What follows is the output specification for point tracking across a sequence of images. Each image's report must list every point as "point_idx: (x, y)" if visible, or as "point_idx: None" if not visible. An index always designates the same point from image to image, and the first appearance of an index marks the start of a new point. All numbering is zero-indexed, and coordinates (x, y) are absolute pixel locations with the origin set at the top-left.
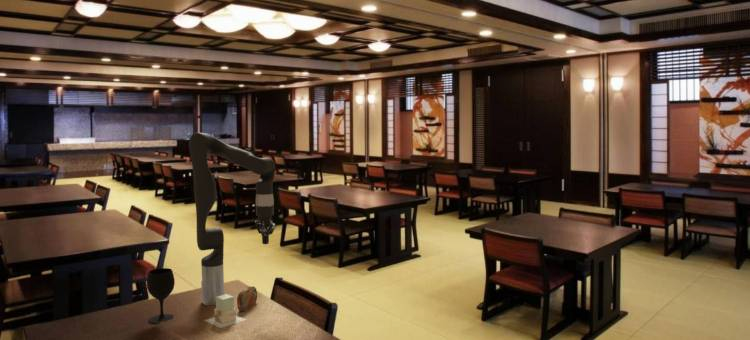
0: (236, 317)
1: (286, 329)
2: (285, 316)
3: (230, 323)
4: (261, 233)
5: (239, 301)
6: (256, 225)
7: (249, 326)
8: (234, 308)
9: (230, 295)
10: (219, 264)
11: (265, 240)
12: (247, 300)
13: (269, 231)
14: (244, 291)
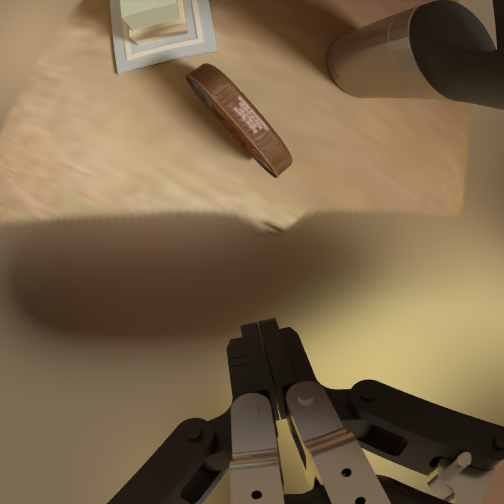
0: (153, 49)
1: (11, 157)
2: (89, 191)
3: (121, 24)
4: (316, 399)
5: (195, 69)
6: (463, 431)
7: (76, 70)
8: (136, 32)
9: (145, 9)
10: (415, 50)
11: (240, 359)
12: (224, 114)
13: (140, 472)
14: (225, 100)
